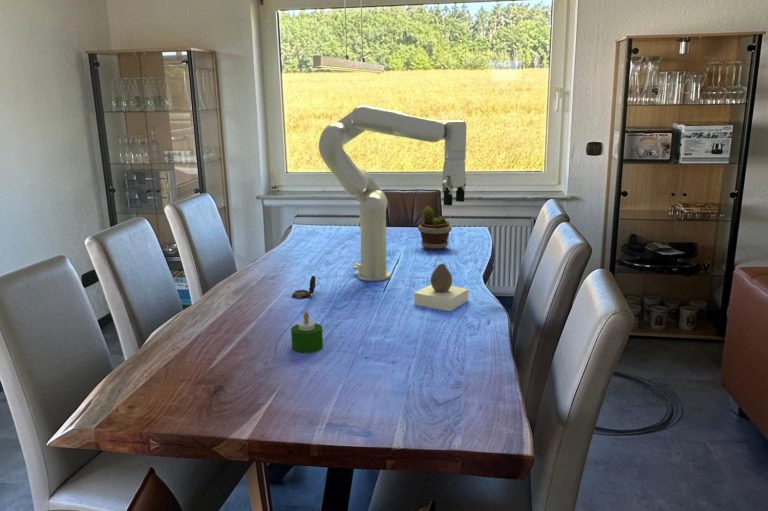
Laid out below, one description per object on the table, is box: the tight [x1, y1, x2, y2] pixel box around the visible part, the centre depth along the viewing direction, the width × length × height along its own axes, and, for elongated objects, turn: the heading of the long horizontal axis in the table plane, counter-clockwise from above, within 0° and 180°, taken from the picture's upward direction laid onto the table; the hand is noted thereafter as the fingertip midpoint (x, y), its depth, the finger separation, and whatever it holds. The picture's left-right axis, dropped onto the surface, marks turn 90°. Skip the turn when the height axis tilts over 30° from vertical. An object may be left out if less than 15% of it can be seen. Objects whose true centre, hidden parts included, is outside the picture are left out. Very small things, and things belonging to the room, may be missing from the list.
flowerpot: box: [417, 205, 453, 251], centre depth 278 cm, size 14×15×20 cm
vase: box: [430, 263, 453, 293], centre depth 203 cm, size 7×7×9 cm
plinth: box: [413, 284, 469, 312], centre depth 204 cm, size 13×13×4 cm
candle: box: [290, 311, 324, 354], centre depth 167 cm, size 8×8×10 cm
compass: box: [291, 275, 317, 299], centre depth 211 cm, size 8×8×7 cm
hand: (454, 203), depth 226 cm, fingers open, 9 cm apart
